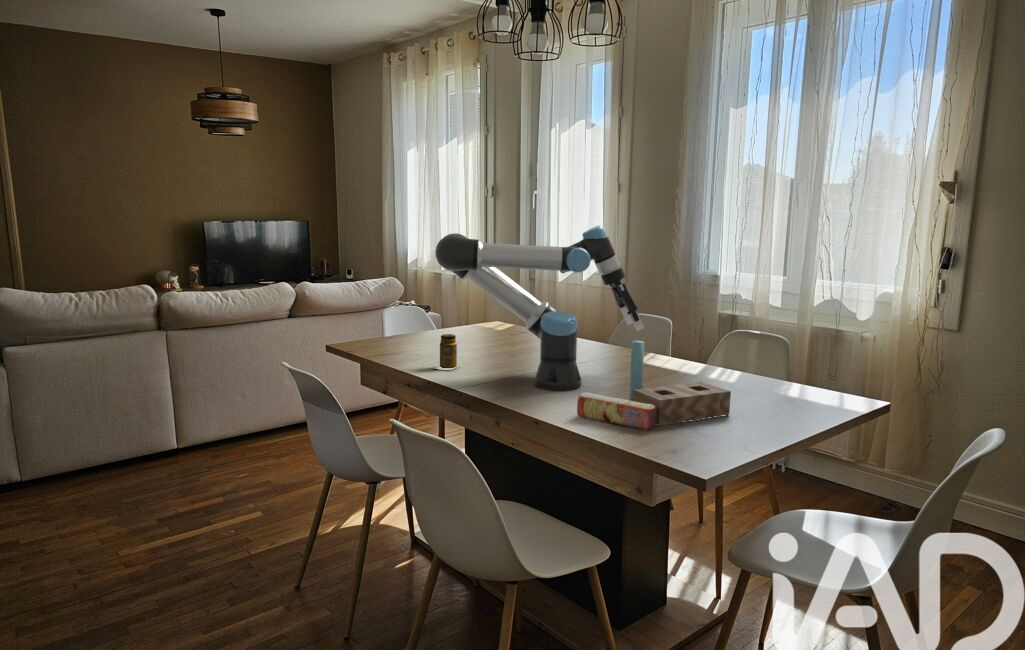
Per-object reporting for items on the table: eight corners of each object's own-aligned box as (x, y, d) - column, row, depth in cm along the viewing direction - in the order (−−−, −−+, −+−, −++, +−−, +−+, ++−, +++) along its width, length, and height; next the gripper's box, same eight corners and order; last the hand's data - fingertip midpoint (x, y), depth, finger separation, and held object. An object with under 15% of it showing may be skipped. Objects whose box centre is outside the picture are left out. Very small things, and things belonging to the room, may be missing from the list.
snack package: (657, 426, 179) (659, 401, 178) (648, 432, 174) (649, 407, 173) (585, 413, 191) (586, 389, 190) (574, 418, 185) (575, 394, 184)
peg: (634, 403, 201) (636, 343, 198) (627, 400, 204) (629, 341, 201) (644, 402, 202) (646, 342, 200) (636, 399, 206) (639, 340, 203)
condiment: (461, 367, 247) (461, 334, 245) (450, 371, 239) (449, 338, 237) (443, 365, 249) (443, 332, 248) (431, 369, 242) (431, 336, 240)
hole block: (659, 426, 179) (660, 400, 178) (632, 414, 190) (633, 389, 189) (729, 415, 189) (730, 391, 188) (699, 405, 200) (701, 381, 199)
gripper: (629, 268, 217) (655, 327, 221) (613, 263, 242) (636, 316, 245) (607, 278, 217) (634, 337, 221) (593, 272, 242) (618, 325, 245)
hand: (635, 326), depth 233 cm, fingers open, 13 cm apart
